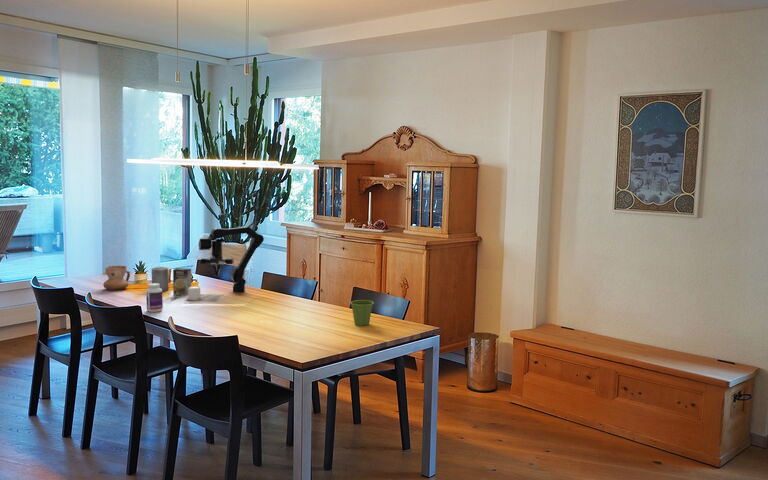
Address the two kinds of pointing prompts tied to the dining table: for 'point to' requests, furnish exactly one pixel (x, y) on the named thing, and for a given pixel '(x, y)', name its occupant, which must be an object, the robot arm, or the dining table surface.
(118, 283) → the ceramic jug
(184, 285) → the coffee box
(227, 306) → the dining table surface
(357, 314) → the plant pot
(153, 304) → the pill bottle
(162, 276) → the pillar candle
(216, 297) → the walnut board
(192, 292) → the white rectangular block
